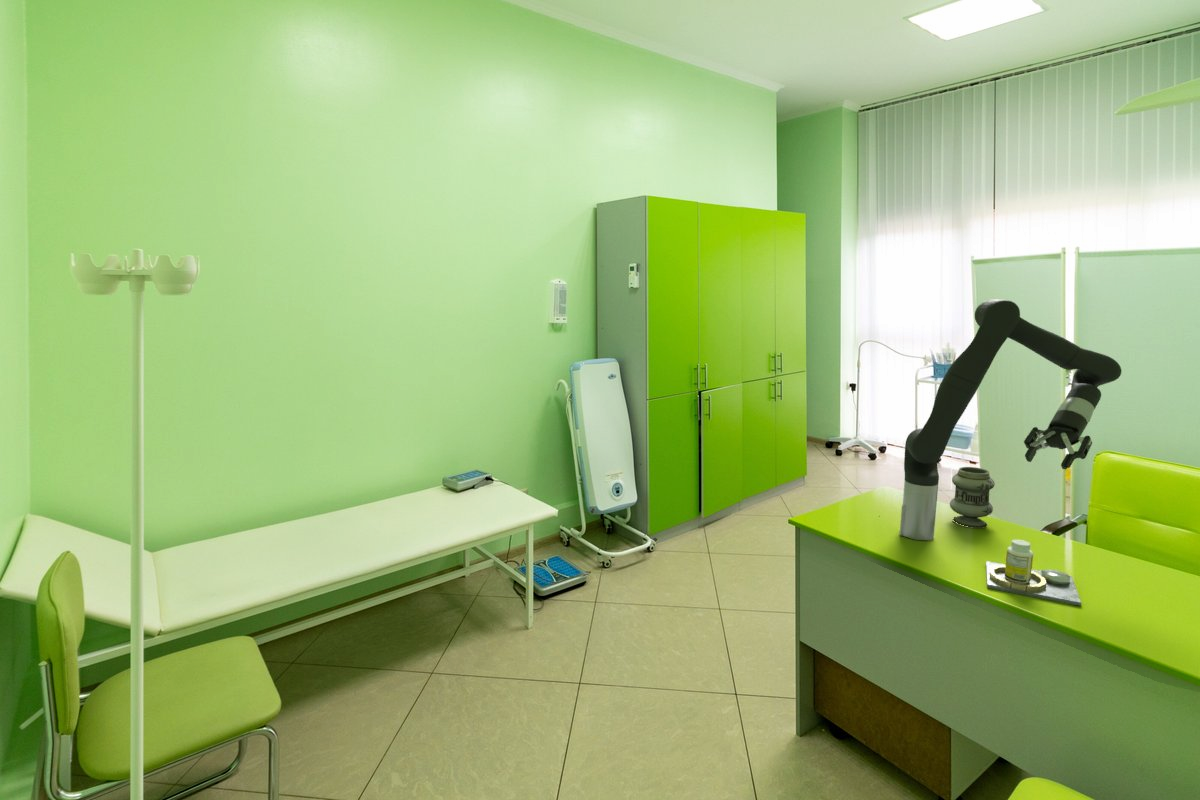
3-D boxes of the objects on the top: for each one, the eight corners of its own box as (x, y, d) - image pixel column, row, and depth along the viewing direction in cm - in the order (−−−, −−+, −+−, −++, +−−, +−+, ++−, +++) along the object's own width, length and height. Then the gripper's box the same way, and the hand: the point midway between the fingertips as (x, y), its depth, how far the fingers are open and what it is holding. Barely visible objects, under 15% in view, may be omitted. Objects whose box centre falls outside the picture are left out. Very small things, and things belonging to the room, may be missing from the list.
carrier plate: (987, 587, 156) (988, 578, 156) (985, 564, 170) (986, 555, 170) (1080, 606, 147) (1082, 596, 146) (1071, 580, 160) (1072, 571, 160)
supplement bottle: (1017, 574, 162) (1021, 537, 160) (1035, 583, 156) (1040, 545, 155) (998, 576, 161) (1002, 538, 159) (1016, 585, 155) (1021, 547, 154)
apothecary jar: (948, 514, 209) (953, 462, 206) (990, 520, 203) (995, 467, 200) (947, 525, 199) (952, 471, 196) (991, 532, 193) (997, 477, 190)
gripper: (1039, 405, 173) (1012, 449, 170) (1099, 413, 161) (1071, 461, 157) (1046, 421, 177) (1021, 465, 173) (1106, 430, 164) (1079, 478, 161)
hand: (1045, 463), depth 165 cm, fingers open, 8 cm apart
